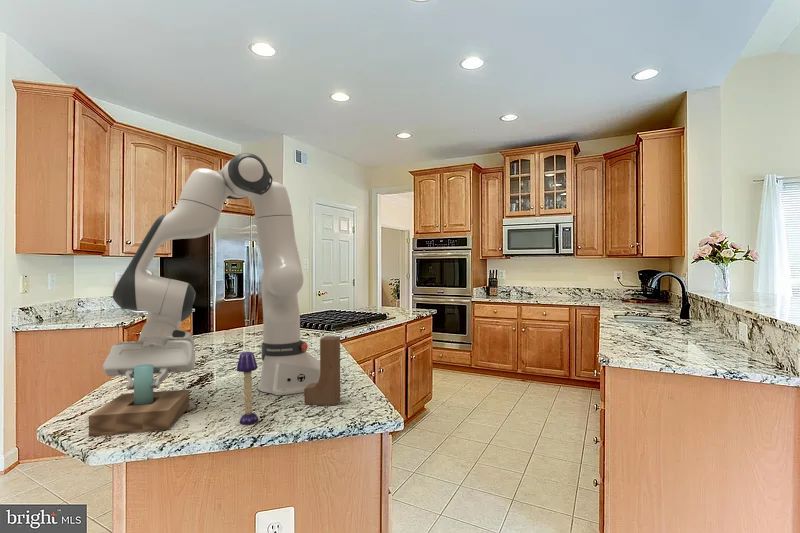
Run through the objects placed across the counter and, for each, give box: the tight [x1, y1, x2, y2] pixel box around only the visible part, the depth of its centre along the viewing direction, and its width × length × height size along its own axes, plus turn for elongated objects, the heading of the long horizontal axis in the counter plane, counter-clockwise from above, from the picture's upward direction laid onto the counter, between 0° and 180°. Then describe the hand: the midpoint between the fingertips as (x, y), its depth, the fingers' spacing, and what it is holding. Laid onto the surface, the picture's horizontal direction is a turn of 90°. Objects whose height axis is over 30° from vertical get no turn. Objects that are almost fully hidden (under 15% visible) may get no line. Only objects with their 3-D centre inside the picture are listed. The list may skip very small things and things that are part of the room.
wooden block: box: [303, 335, 341, 406], centre depth 110 cm, size 9×4×18 cm, turn 82°
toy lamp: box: [236, 351, 259, 426], centre depth 96 cm, size 5×5×17 cm
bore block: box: [88, 389, 190, 437], centre depth 98 cm, size 16×16×4 cm
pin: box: [133, 364, 154, 405], centre depth 98 cm, size 4×4×11 cm
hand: (142, 387), depth 97 cm, fingers closed on pin, 4 cm apart
